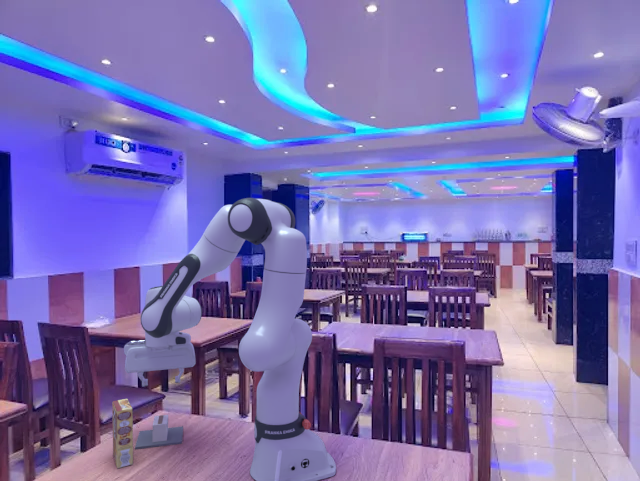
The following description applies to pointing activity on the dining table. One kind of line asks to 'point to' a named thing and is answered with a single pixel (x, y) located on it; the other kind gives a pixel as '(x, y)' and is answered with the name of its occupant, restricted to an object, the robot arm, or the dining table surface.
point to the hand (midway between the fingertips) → (161, 384)
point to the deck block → (160, 428)
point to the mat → (146, 441)
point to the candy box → (122, 433)
